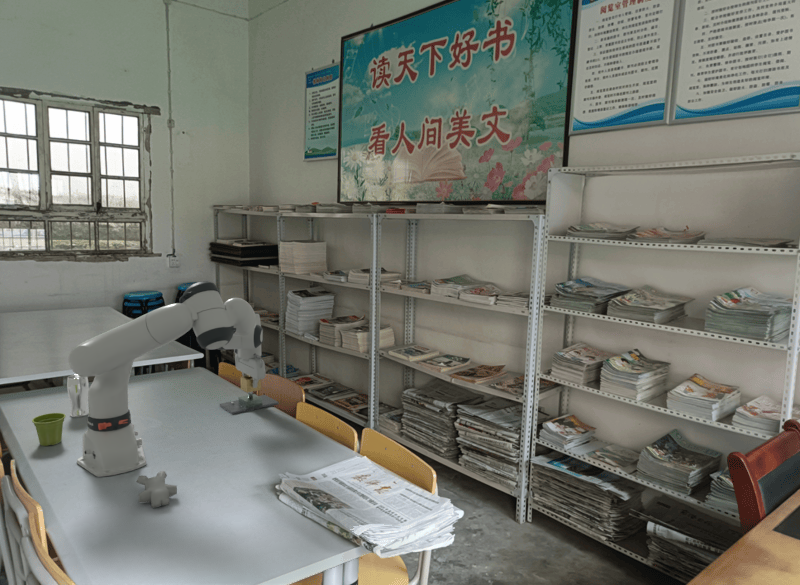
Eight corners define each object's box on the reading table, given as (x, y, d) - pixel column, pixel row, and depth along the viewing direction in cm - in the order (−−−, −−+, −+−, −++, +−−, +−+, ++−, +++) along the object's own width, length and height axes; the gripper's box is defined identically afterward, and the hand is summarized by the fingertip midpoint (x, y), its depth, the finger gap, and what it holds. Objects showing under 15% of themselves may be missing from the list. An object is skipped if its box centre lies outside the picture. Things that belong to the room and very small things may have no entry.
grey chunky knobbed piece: (141, 499, 142) (132, 470, 154) (142, 517, 143) (132, 487, 155) (180, 490, 147) (168, 463, 159) (180, 507, 148) (168, 479, 160)
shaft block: (278, 404, 229) (278, 384, 228) (232, 414, 216) (231, 393, 215) (265, 397, 238) (264, 377, 237) (219, 406, 225) (219, 385, 224)
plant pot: (51, 449, 180) (49, 423, 179) (26, 446, 182) (24, 421, 181) (73, 438, 189) (72, 414, 188) (49, 436, 191) (48, 411, 190)
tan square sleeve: (261, 389, 225) (260, 377, 224) (247, 392, 221) (246, 380, 220) (254, 386, 229) (254, 374, 229) (240, 388, 225) (240, 376, 225)
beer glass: (83, 418, 208) (81, 379, 206) (64, 417, 208) (62, 378, 206) (93, 411, 215) (91, 374, 213) (75, 411, 215) (73, 373, 213)
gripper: (269, 355, 217) (269, 390, 219) (246, 346, 233) (246, 378, 234) (254, 358, 213) (254, 392, 215) (232, 348, 229) (232, 380, 230)
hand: (250, 385), depth 225 cm, fingers closed on tan square sleeve, 6 cm apart
